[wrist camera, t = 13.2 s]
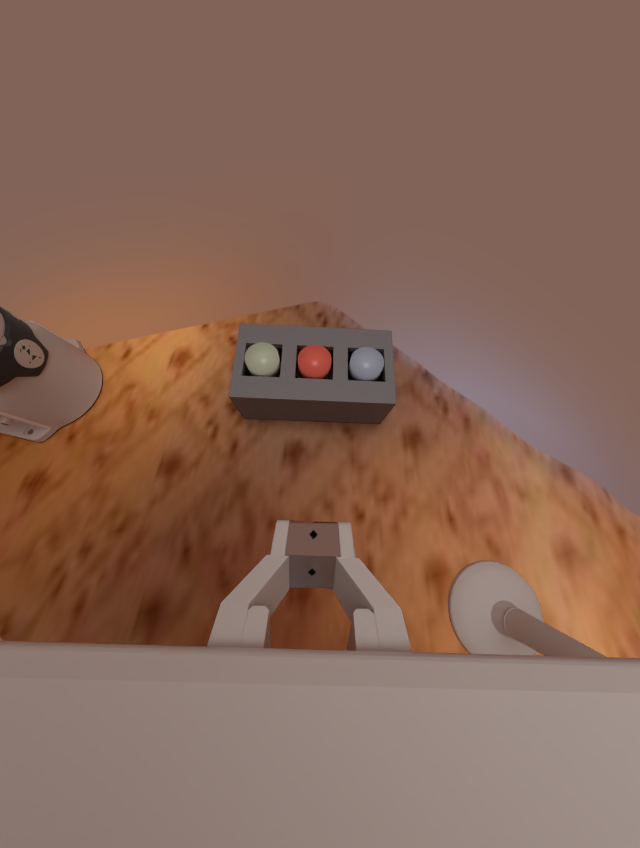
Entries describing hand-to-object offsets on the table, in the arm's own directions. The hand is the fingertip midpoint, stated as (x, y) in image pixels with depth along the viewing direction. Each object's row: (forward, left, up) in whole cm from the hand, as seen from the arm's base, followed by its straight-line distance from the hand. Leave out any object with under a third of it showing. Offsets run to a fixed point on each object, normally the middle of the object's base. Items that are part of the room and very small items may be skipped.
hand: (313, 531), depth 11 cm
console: (-1, +21, -31) cm, 38 cm away
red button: (0, +21, -25) cm, 33 cm away
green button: (-8, +21, -25) cm, 34 cm away
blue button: (+7, +21, -25) cm, 34 cm away
